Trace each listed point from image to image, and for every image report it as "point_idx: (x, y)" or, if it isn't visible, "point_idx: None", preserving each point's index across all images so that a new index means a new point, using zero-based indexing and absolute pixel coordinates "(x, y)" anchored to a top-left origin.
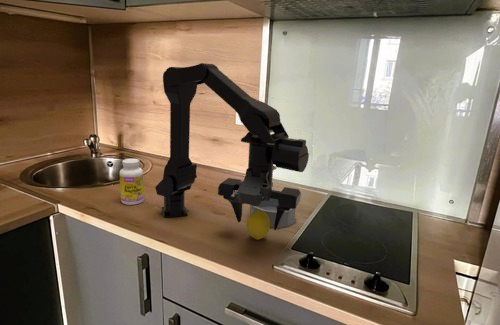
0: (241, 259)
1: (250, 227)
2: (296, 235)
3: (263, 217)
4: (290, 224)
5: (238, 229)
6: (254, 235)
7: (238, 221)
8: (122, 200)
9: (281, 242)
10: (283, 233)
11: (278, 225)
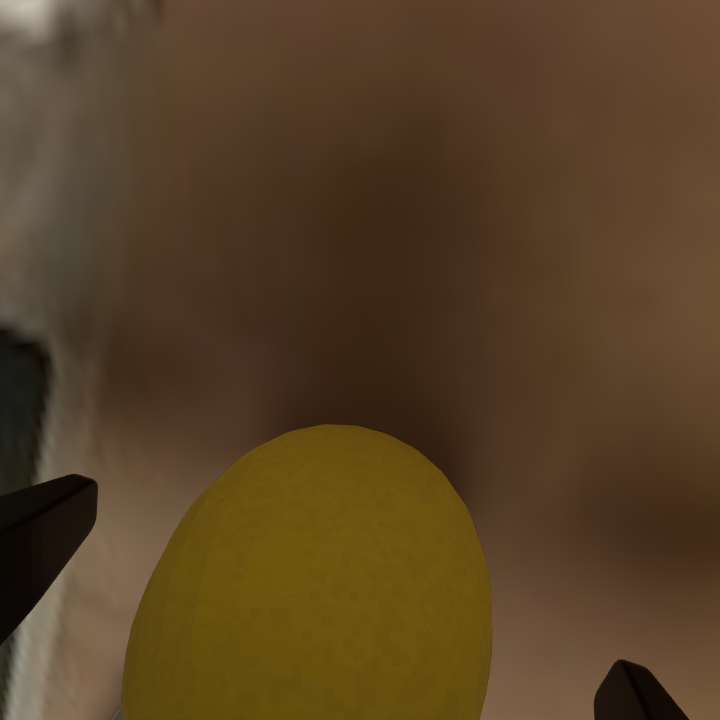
0: (525, 26)
1: (430, 515)
2: None
3: (161, 672)
4: None
5: (574, 643)
6: (378, 434)
7: (641, 674)
8: None
9: (145, 444)
10: None
11: None
